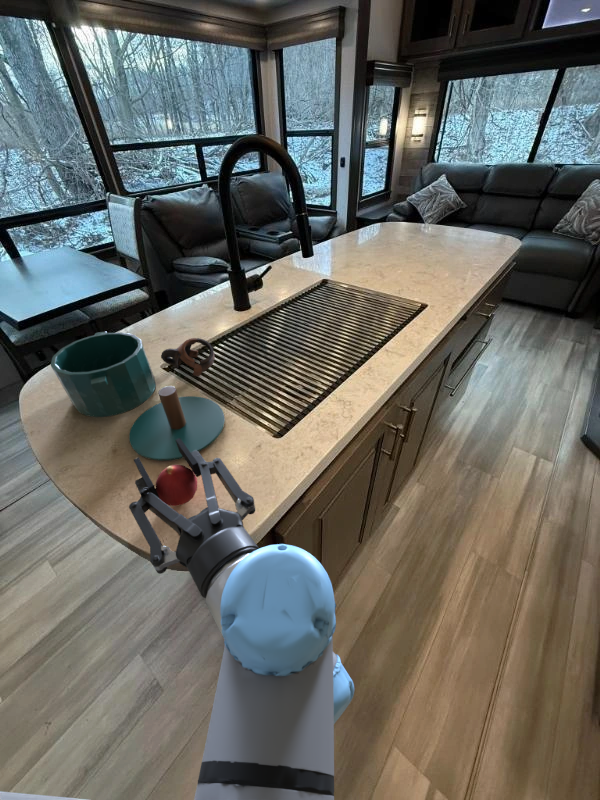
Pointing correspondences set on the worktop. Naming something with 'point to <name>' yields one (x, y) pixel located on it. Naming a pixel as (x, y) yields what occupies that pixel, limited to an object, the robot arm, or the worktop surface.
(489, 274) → the worktop surface
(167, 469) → the onion
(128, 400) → the pot
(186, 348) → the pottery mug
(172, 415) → the lid
